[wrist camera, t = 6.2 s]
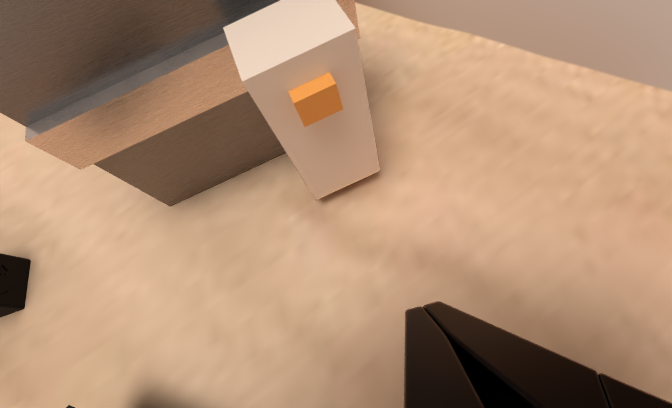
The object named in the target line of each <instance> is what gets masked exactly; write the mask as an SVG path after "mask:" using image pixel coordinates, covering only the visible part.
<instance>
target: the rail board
mask: <svg viewBox="0 0 672 408" xmlns="http://www.w3.org/2000/svg"><path fill="white" fill-rule="evenodd" d="M278 1H280V0H0V113H2V114H4V115H6V116H8V117H9V118H11V119H13V120H15V121H17V122H18V123H20V124H22V125H24V126H26V136H25V141H26V142H28V143H30V144H32V145H34V146H36V147H38V148H39V149H41V150H43V151H45V152H47V153H49V154H51V155H53V156H55V157H57V158H59V159H61V160H63V161H65V162H67V163H69V164H71V165H73V166H74V167H76V168H78V169H80V170H81V169H83V168H86V167H88V166H90V165H92V164H94V165H96V166H98V167H100V168H102V169H103V170H105V171H107V172H109V173H111V174H112V175H114V176H116V177H118V178H120V179H121V180H123V181H125V182H127V183H129V184H130V185H132V186H134V187H136V188H138V189H140V190H141V191H143V192H145V193H147V194H149V195H150V196H152V197H154V198H156V199H158V200H159V201H161V202H163V203H165V204H167V205H168V206H172V205H174V204H176V203H178V202H180V201H182V200H185V199H187V198H189V197H191V196H193V195H195V194H197V193H200V192H202V191H204V190H206V189H208V188H210V187H212V186H215V185H217V184H219V183H221V182H223V181H225V180H228V179H230V178H232V177H234V176H236V175H238V174H240V173H243V172H245V171H247V170H249V169H251V168H253V167H255V166H258V165H260V164H262V163H264V162H266V161H268V160H271V159H273V158H275V157H277V156H279V155H281V154H283V153H286V151H285V150H284V148H283V147H282V145H281V143H280V142H279V140H278V139H277V137H276V135H275V134H274V132H273V131H272V129H271V127H270V126H269V124H268V123H267V121H266V119H265V118H264V116H263V115H262V113H261V111H260V110H259V108H258V106H257V105H256V103H255V102H254V100H253V98H252V97H251V95H250V94H249V92H248V90H247V89H246V87H245V86H244V84H243V82H242V80H241V77H240V75H239V72H238V69H237V66H236V63H235V60H234V58H233V55H232V52H231V49H230V46H229V43H228V40H227V38H226V35H225V32H224V29H223V27H225V26H227V25H230V24H232V23H234V22H236V21H238V20H240V19H242V18H244V17H246V16H248V15H251V14H253V13H255V12H257V11H259V10H261V9H263V8H265V7H267V6H269V5H272V4H274V3H276V2H278ZM336 1H337V3H338V4H339V6H340V7H341V8H342V10H343V11H344V13H345V14H346V15H347V17H348V18H349V20H350V21H351V22H352V24H353V25H354V27H355V28H356V33H357V39H360V35H359V28H358V21H357V14H356V7H355V0H336Z"/></svg>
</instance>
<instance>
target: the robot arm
mask: <svg viewBox="0 0 672 408" xmlns="http://www.w3.org/2000/svg"><path fill="white" fill-rule="evenodd" d="M404 408H672V403H670V402H668V401H665V400H663V399H660V398H658V397H656V396H653V395H651V394H649V393H646V392H644V391H642V390H639V389H637V388H635V387H632V386H630V385H627V384H625V383H623V382H621V381H618V380H616V379H614V378H612V377H609V376H607V375H605V374H603V373H600V374H599V375H598V373H597V372H596V371H595V370H593V369H591V368H589V367H586V366H584V365H582V364H580V363H577V362H575V361H573V360H571V359H568V358H566V357H564V356H562V355H559V354H557V353H555V352H553V351H550V350H548V349H546V348H544V347H541V346H539V345H537V344H535V343H532V342H530V341H528V340H526V339H523V338H521V337H519V336H517V335H514V334H512V333H510V332H508V331H505V330H503V329H501V328H499V327H496V326H494V325H492V324H489V323H487V322H485V321H483V320H480V319H478V318H476V317H474V316H471V315H469V314H467V313H465V312H462V311H460V310H458V309H456V308H453V307H451V306H449V305H447V304H444V303H442V302H434V303H430V304H427V305H424V306H423V307H416V308H412V309H408V310H406V312H405V368H404Z"/></svg>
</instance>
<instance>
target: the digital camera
mask: <svg viewBox="0 0 672 408" xmlns="http://www.w3.org/2000/svg"><path fill="white" fill-rule="evenodd" d="M29 269H30V260H29V259H24V258H20V257H15V256H10V255H5V254H0V317H3V316H5V315H8V314H11V313H14V312H16V311H19V310H22V309H24V307H25V299H26V291H27V284H28V276H29ZM5 274H6V275H5ZM19 304H20V305H19Z"/></svg>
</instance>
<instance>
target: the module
mask: <svg viewBox="0 0 672 408" xmlns="http://www.w3.org/2000/svg"><path fill="white" fill-rule="evenodd" d="M223 29H224V32H225V35H226V38H227V40H228V43H229V46H230V49H231V52H232V55H233V58H234V60H235V63H236V66H237V69H238V72H239V75H240V77H241V80H242V82H243V84H244V86H245V87H246V89H247V90H248V92H249V94H250V95H251V97H252V98H253V100H254V102H255V103H256V105H257V106H258V108H259V110H260V111H261V113H262V115H263V116H264V118H265V119H266V121H267V123H268V124H269V126H270V127H271V129H272V131H273V132H274V134H275V135H276V137H277V139H278V140H279V142H280V143H281V145H282V147H283V148H284V150H285V151H286V153H287V155H288V156H289V158H290V159H291V161H292V163H293V164H294V166H295V167H296V169H297V171H298V172H299V174H300V175H301V177H302V179H303V180H304V182H305V183H306V185H307V187H308V188H309V190H310V191H311V193H312V195H313V196H314V198H315V199H316V200H318V199H320V198H322V197H324V196H326V195H328V194H331V193H333V192H335V191H337V190H339V189H341V188H344V187H346V186H348V185H350V184H352V183H355V182H357V181H359V180H361V179H363V178H365V177H368V176H370V175H372V174H374V173H376V172H378V171H380V166H379V160H378V154H377V149H376V143H375V137H374V131H373V126H372V120H371V114H370V108H369V102H368V97H367V91H366V85H365V79H364V74H363V68H362V62H361V56H360V51H359V45H358V39H357V33H356V28H355V27H354V25H353V24H352V22H351V21H350V20H349V18H348V17H347V15H346V14H345V13H344V11H343V10H342V8H341V7H340V6H339V4H338V3H337V1H336V0H280V1H278V2H276V3H274V4H272V5H269V6H267V7H265V8H263V9H261V10H259V11H257V12H255V13H253V14H251V15H248V16H246V17H244V18H242V19H240V20H238V21H236V22H234V23H232V24H230V25H227V26H225V27H223Z"/></svg>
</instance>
